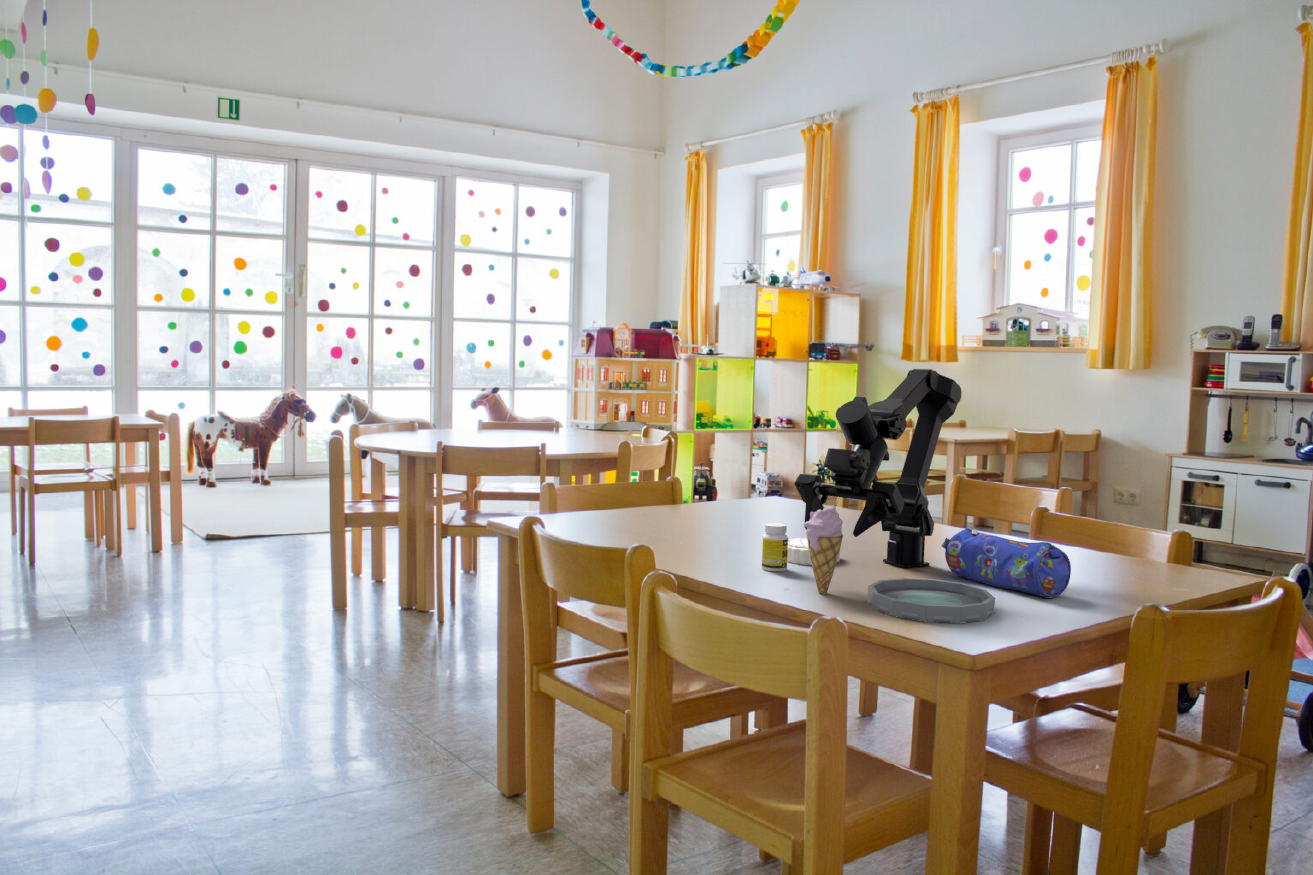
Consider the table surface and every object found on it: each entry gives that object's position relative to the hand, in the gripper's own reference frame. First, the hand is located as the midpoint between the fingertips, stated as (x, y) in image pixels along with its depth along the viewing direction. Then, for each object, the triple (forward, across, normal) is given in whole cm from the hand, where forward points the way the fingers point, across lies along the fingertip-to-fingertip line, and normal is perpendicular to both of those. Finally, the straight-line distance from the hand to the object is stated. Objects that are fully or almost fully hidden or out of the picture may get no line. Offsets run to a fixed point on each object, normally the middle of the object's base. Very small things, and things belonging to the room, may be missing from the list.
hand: (829, 531), depth 163 cm
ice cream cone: (+9, 0, +6) cm, 11 cm away
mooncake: (-8, -16, +23) cm, 29 cm away
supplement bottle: (+1, -16, +13) cm, 21 cm away
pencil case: (-11, +21, +26) cm, 35 cm away
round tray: (+6, +17, +8) cm, 20 cm away
